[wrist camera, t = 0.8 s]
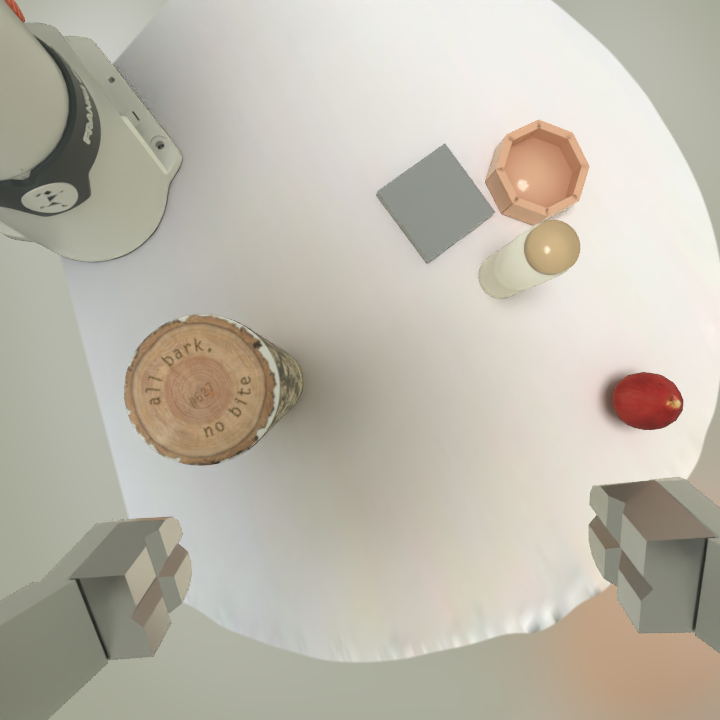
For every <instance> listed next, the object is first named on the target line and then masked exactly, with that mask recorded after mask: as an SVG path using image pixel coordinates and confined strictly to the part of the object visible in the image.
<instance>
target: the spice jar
mask: <svg viewBox="0 0 720 720" xmlns="http://www.w3.org/2000/svg"><path fill="white" fill-rule="evenodd" d="M579 253H580V242H579V238H578V236H577V234H576V232H575V231H574V229H573V228H572V227H571V226H569V225H568V224H566V223H565V222H562V221H559V220H549V221H545V222H542V223H538V224H536V225H534V226H533V227H531V228H530V229H528V230H527V231H526V232H524V233H523V234H521V235H520V236H519V237H517V238H516V239H514V240H513V241H511V242H510V243H509V244H507V245H506V246H504V247H503V248H502V249H500V250H499V251H497V252H496V253H495V254H493V255H492V256H490V257H489V258H488V259H486V260H485V261H484V262H483V264H482V265H481V268H480V271H479V281H480V284H481V287H482V288H483V290H484V291H485V292H486V293H487V294H488V295H490V296H492V297H494V298H499V299H503V298H508V297H510V296H512V295H515V294H517V293H519V292H522V291H524V290H526V289H529V288H531V287H534V286H536V285H538V284H541V283H543V282H545V281H548V280H550V279H552V278H555V277H557V276H560V275H562V274H563V273H565V272H566V271H567V270H568V269H569V268H570V267H572V266H573V265H574V264H575V262H576V261H577V259H578V256H579Z"/></svg>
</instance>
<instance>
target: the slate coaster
mask: <svg viewBox="0 0 720 720" xmlns="http://www.w3.org/2000/svg"><path fill="white" fill-rule="evenodd" d="M377 197H378V198H379V199H380V201H381V202H382V203H383V205H384V206H385V208H386V209H387V210H388V212H389V213H390V214H391V216H392V217H393V218H394V220H395V221H396V222H397V224H398V225H399V226H400V228H401V229H402V230H403V232H404V233H405V235H406V236H407V237H408V239H409V240H410V241H411V243H412V244H413V245H414V247H415V248H416V249H417V251H418V252H419V253H420V255H421V256H422V257H423V259H424V260H425V262H426V263H428V262H430V261H431V260H432V259H434V258H435V257H436V256H438V255H439V254H440V253H442V252H443V251H444V250H446V249H447V248H448V247H450V246H451V245H453V244H454V243H455V242H457V241H458V240H459V239H461V238H462V237H463V236H465V235H466V234H467V233H469V232H470V231H471V230H473V229H474V228H475V227H477V226H478V225H480V224H481V223H482V222H484V221H485V220H486V219H488V218H489V217H490V216H492V215H493V214H494V213H495V211H494V210H493V208H492V207H491V206H490V204H489V203H488V202H487V200H486V199H485V197H484V196H483V195H482V193H481V192H480V191H479V189H478V188H477V187H476V185H475V184H474V182H473V181H472V180H471V178H470V177H469V176H468V174H467V173H466V172H465V170H464V169H463V167H462V166H461V165H460V163H459V162H458V161H457V159H456V158H455V157H454V155H453V154H452V152H451V151H450V150H449V148H448V147H447V146H446V144H443V145H442V146H441V147H439V148H438V149H436V150H435V151H434V152H432V153H431V154H429V155H428V156H427V157H425V158H424V159H422V160H421V161H420V162H418V163H417V164H415V165H414V166H413V167H411V168H410V169H408V170H407V171H406V172H404V173H403V174H401V175H400V176H398V177H397V178H396V179H394V180H393V181H391V182H390V183H389V184H387V185H386V186H384V187H383V188H382V189H380V190H379V191H378V192H377Z"/></svg>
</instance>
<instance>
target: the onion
mask: <svg viewBox="0 0 720 720" xmlns="http://www.w3.org/2000/svg"><path fill="white" fill-rule="evenodd" d="M612 400H613V407H614V409H615V411H616V413H617V415H618V416H619V418H620V419H621V420H622V421H624V422H625V423H626V424H628V425H630V426H632V427H634V428H638V429H643V430H654V429H661V428H664V427H666V426H668V425H669V424H671V423H673V422H674V421H676V420H677V418H678V417H679V415H680V414H681V412H682V410H683V398H682V396H681V393H680V391H679V390H678V388H677V387H676V385H675V384H674V383H673V382H672V381H670V380H668V379H667V378H665V377H664V376H662V375H659V374H653V373H646V372H642V373H637V374H632V375H628V376H627V377H625V378H624V379H623V380H621V381H620V382H619V383H618V384H617V386H616V387H615V389H614V392H613V398H612Z"/></svg>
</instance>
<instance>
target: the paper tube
mask: <svg viewBox="0 0 720 720" xmlns="http://www.w3.org/2000/svg"><path fill="white" fill-rule="evenodd" d="M302 387H303V376H302V372H301V369H300V367H299V365H298V364H297V362H296V361H295V360H294V359H293V358H292V357H291V356H290V355H289V354H287V353H286V352H284V351H283V350H281V349H280V348H278V347H277V346H275V345H274V344H272V343H271V342H269V341H267V340H266V339H264V338H263V337H261V336H260V335H258V334H257V333H255V332H254V331H252V330H251V329H249V328H247V327H246V326H244V325H242V324H240V323H239V322H236V321H234V320H231V319H228V318H225V317H221V316H216V315H207V314H199V315H190V316H185V317H181V318H178V319H175V320H172V321H170V322H168V323H166V324H164V325H162V326H161V327H159V328H157V329H156V330H155V331H153V332H152V333H151V334H150V335H149V336H148V337H147V338H146V339H145V340H144V341H143V342H142V343H141V344H140V346H139V347H138V349H137V350H136V351H135V353H134V355H133V357H132V359H131V361H130V363H129V366H128V369H127V372H126V377H125V384H124V399H125V406H126V410H127V413H128V416H129V419H130V421H131V423H132V425H133V427H134V429H135V430H136V432H137V433H138V435H139V436H140V437H141V438H142V440H143V441H144V442H145V443H146V444H147V445H148V446H149V447H151V448H152V449H153V450H154V451H156V452H157V453H159V454H160V455H162V456H164V457H166V458H168V459H170V460H173V461H176V462H179V463H183V464H188V465H212V464H218V463H222V462H225V461H228V460H231V459H233V458H235V457H237V456H239V455H241V454H242V453H244V452H246V451H247V450H249V449H250V448H251V447H253V446H254V445H255V444H256V443H257V442H258V441H259V440H260V439H261V438H262V437H263V436H264V435H265V434H266V433H267V432H268V431H269V430H270V429H271V428H272V427H273V426H274V425H275V424H276V423H277V422H278V421H279V420H280V419H281V418H282V417H283V416H284V415H285V414H286V413H287V412H288V411H289V410H290V409H291V408H292V406H293V405H294V404H295V403H296V402H297V400H298V398H299V397H300V394H301V392H302Z"/></svg>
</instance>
